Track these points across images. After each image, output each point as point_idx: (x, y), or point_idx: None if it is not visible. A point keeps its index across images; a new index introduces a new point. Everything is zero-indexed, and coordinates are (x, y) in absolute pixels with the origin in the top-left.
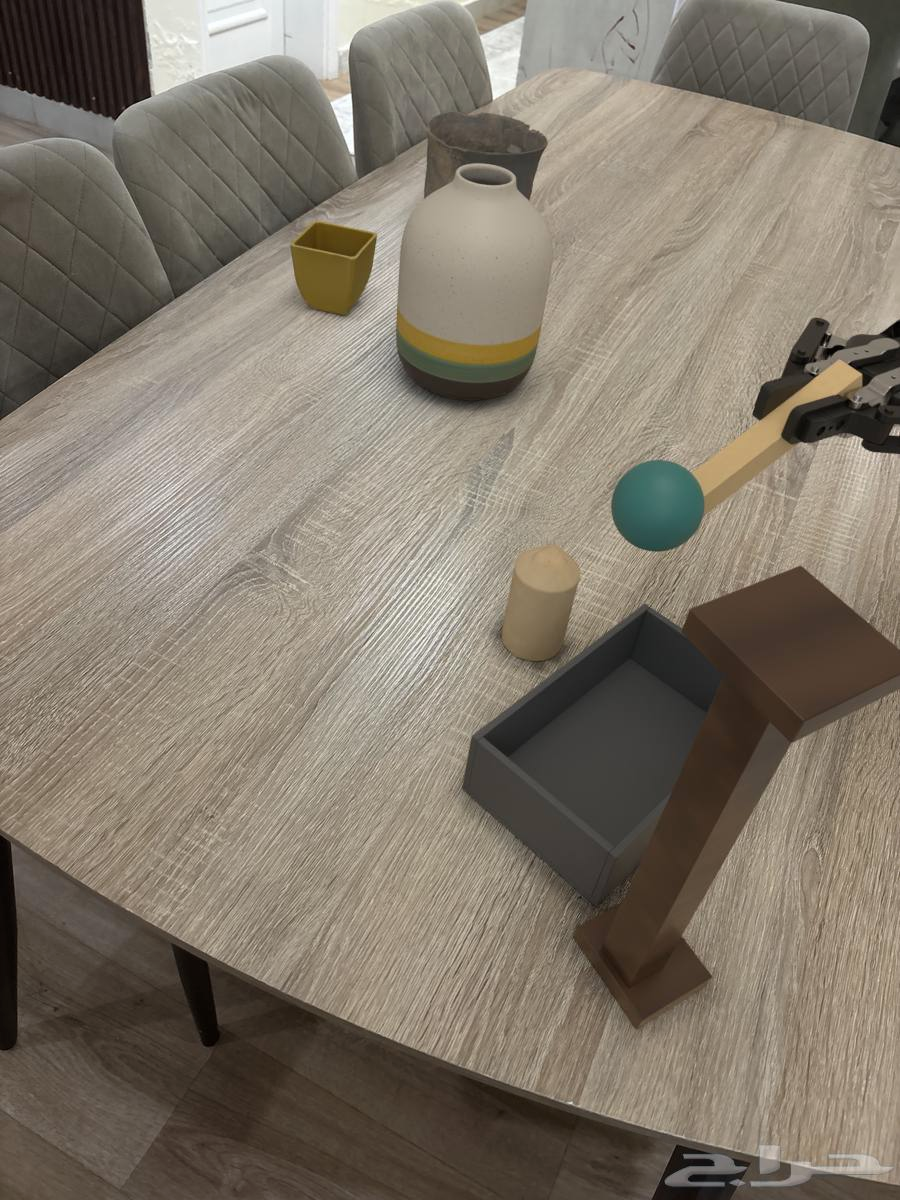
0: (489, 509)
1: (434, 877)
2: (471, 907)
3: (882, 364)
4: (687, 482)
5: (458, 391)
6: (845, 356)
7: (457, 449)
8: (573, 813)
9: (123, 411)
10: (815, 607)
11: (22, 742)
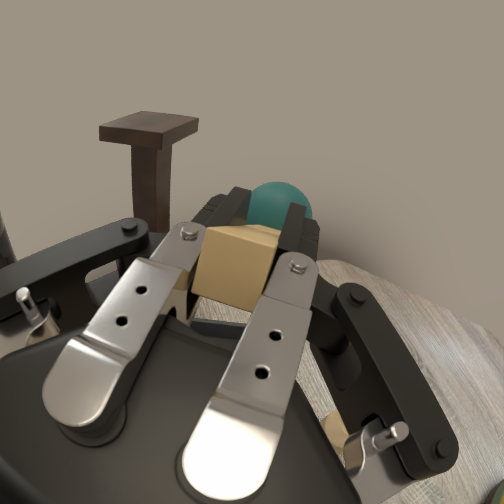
0: (414, 486)
1: (243, 315)
2: (224, 314)
3: (198, 406)
4: (267, 188)
5: (488, 499)
6: (283, 305)
7: (456, 491)
8: (212, 322)
9: (498, 364)
10: (148, 125)
11: (366, 273)
